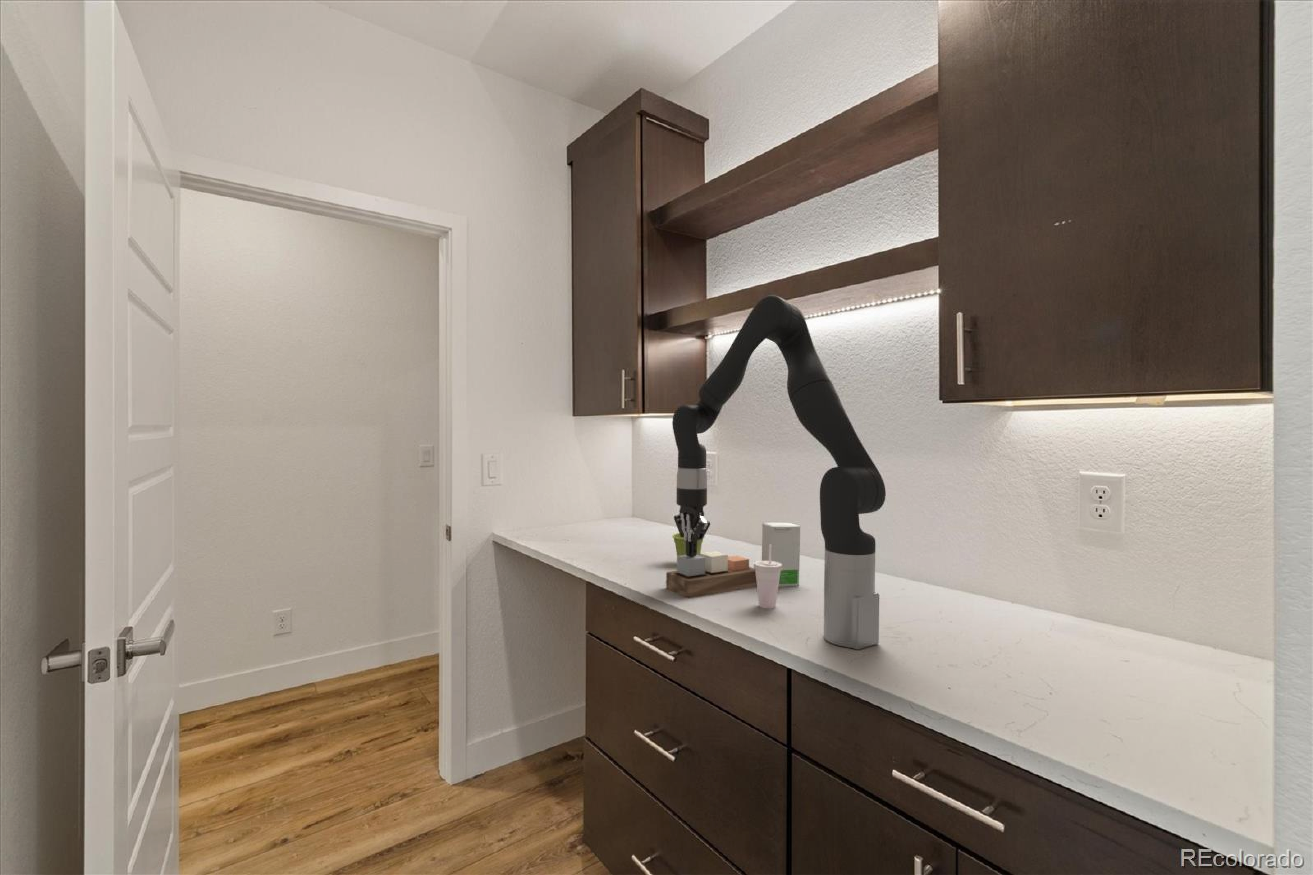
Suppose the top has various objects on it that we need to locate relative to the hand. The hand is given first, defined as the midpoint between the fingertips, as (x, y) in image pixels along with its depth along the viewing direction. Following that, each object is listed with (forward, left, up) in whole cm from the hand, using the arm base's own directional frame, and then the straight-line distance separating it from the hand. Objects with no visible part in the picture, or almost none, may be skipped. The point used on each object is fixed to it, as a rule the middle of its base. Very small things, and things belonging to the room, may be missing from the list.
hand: (691, 555), depth 146 cm
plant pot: (+23, -15, -9) cm, 29 cm away
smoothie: (-19, -8, -9) cm, 22 cm away
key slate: (0, 0, -5) cm, 5 cm away
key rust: (0, -14, -7) cm, 15 cm away
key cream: (0, -7, -5) cm, 8 cm away
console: (0, -7, -9) cm, 11 cm away
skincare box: (-6, -24, -9) cm, 26 cm away
